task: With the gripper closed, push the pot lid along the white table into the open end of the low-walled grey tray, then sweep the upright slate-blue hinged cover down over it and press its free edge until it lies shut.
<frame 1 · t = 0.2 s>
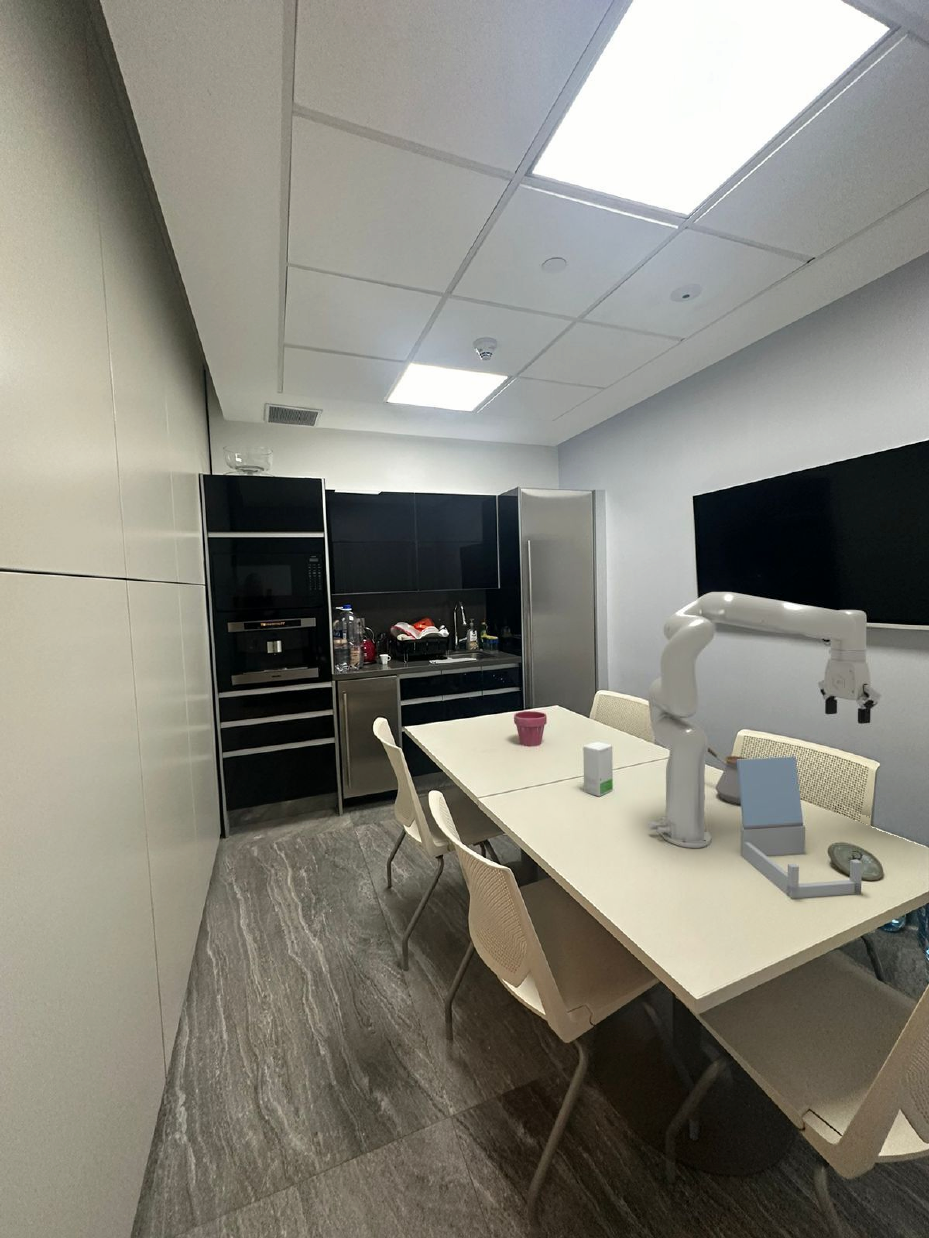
hand: (846, 718, 133), 31 cm above the table, fingers open, 9 cm apart
plant pot: (530, 743, 216), on the table
lid: (854, 870, 116), on the table
low-walled grey tray: (796, 872, 115), on the table
skincare box: (598, 791, 164), on the table
coffee pot: (722, 793, 159), on the table
cover: (769, 792, 123), point 15 cm above the table, hinge at 100.0°
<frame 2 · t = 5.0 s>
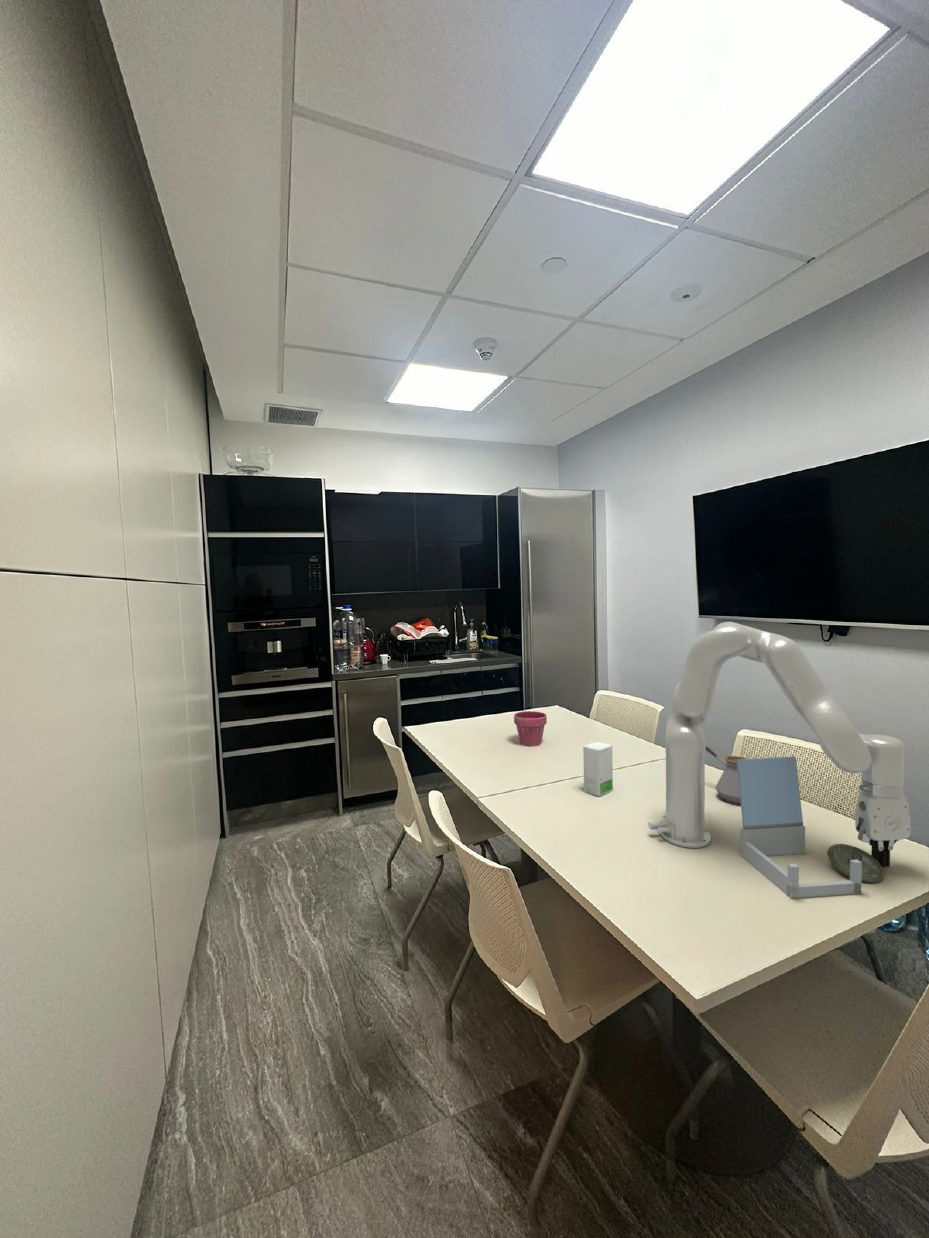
hand: (880, 863, 116), 1 cm above the table, fingers closed
lid: (854, 871, 115), on the table, touching gripper
everything else where it was.
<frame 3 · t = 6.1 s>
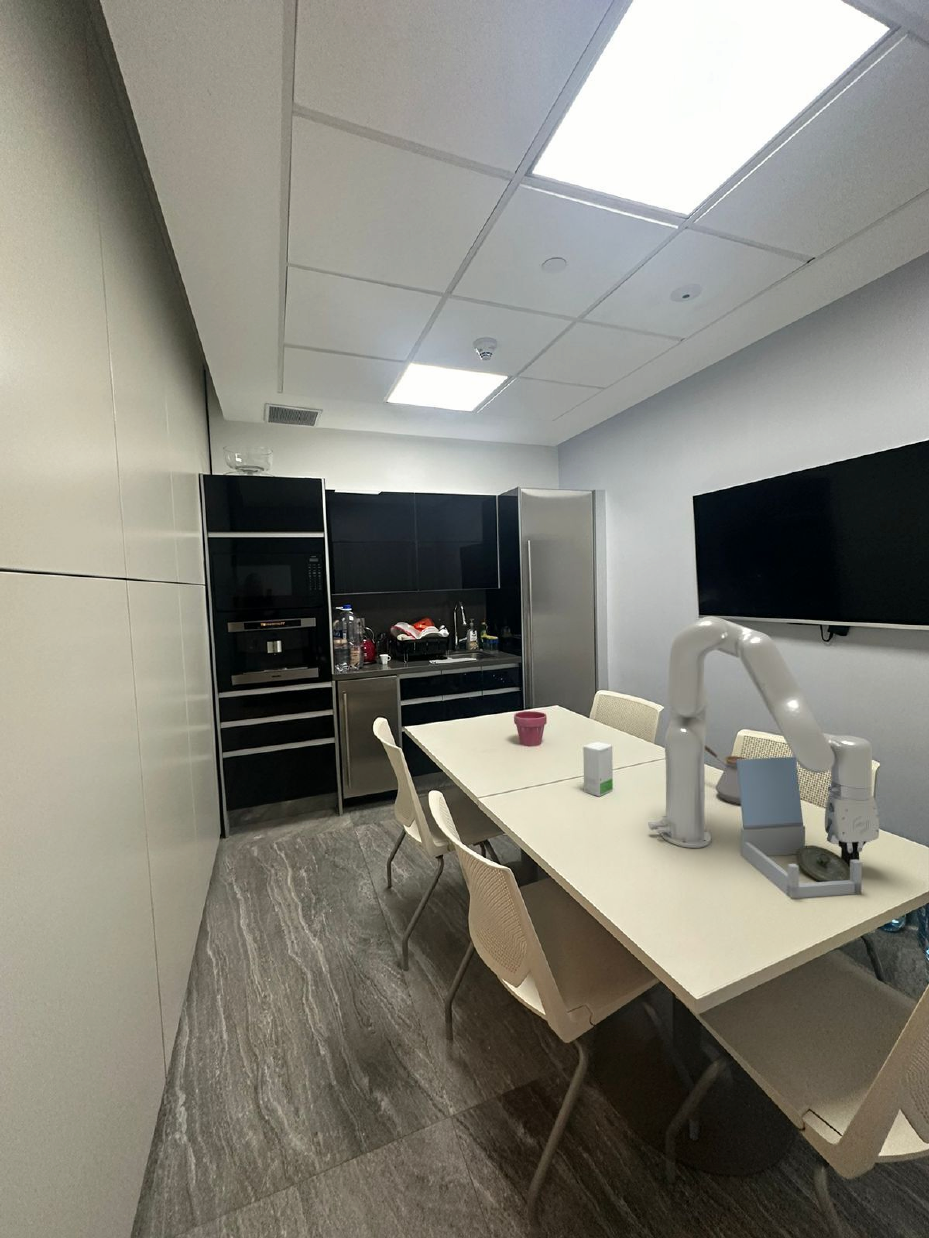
hand: (849, 865, 116), 1 cm above the table, fingers closed
lid: (822, 873, 115), on the table, touching gripper
everything else where it was.
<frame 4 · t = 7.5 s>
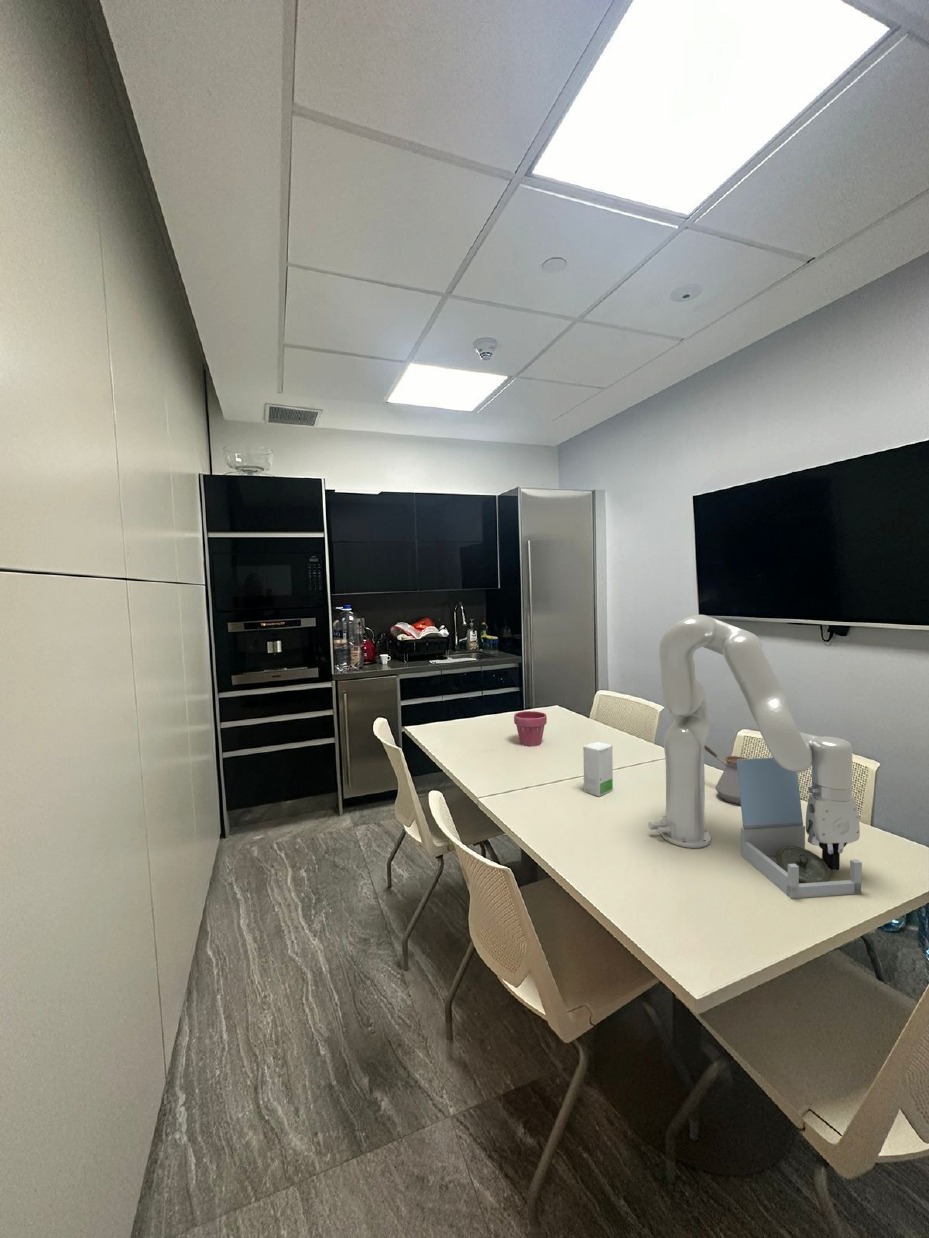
hand: (830, 866, 115), 1 cm above the table, fingers closed
lid: (802, 874, 115), on the table, touching gripper
everything else where it was.
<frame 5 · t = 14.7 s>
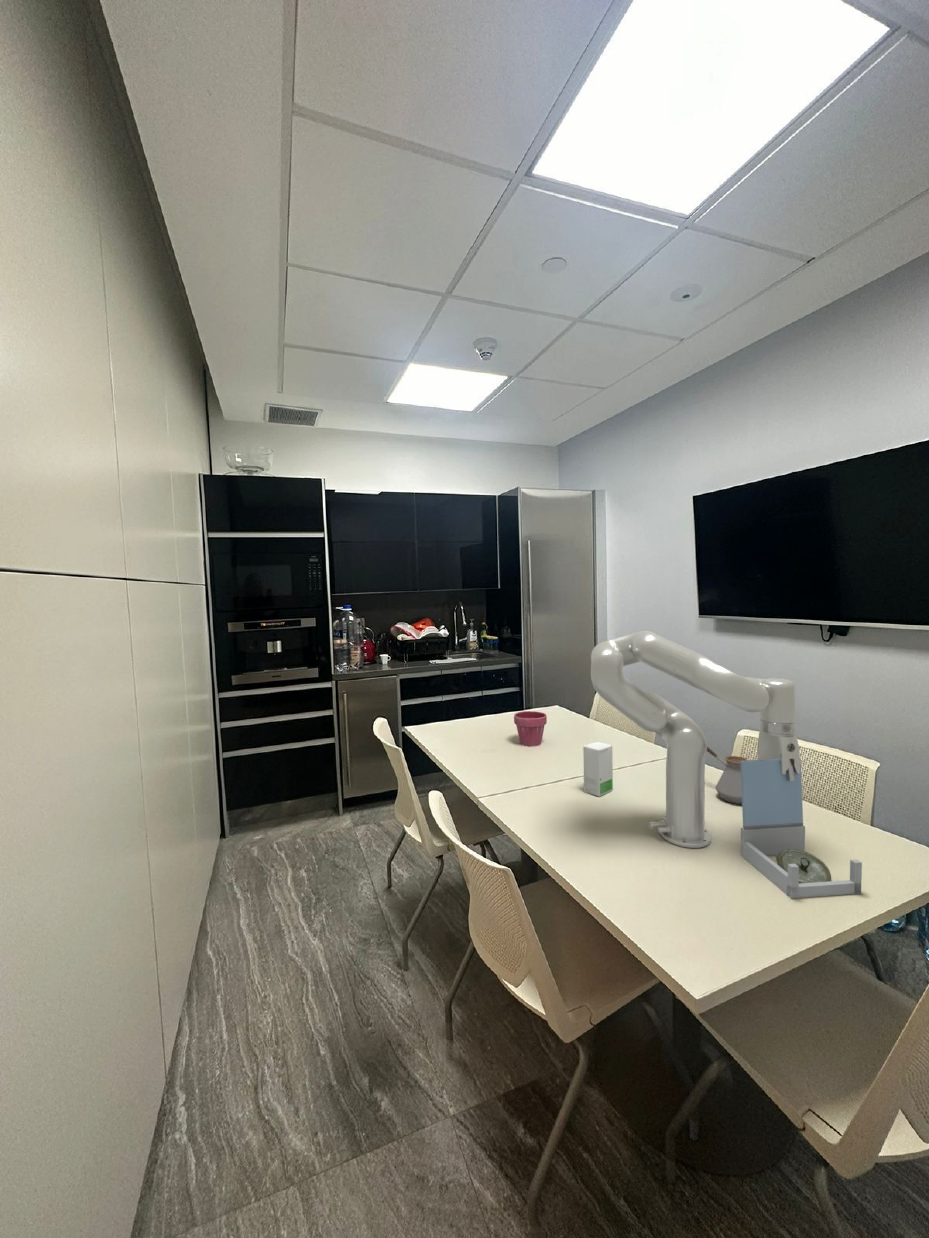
hand: (776, 796, 127), 13 cm above the table, fingers closed
lid: (803, 877, 114), on the table
cover: (771, 793, 123), point 16 cm above the table, hinge at 94.0°, touching gripper
everything else where it was.
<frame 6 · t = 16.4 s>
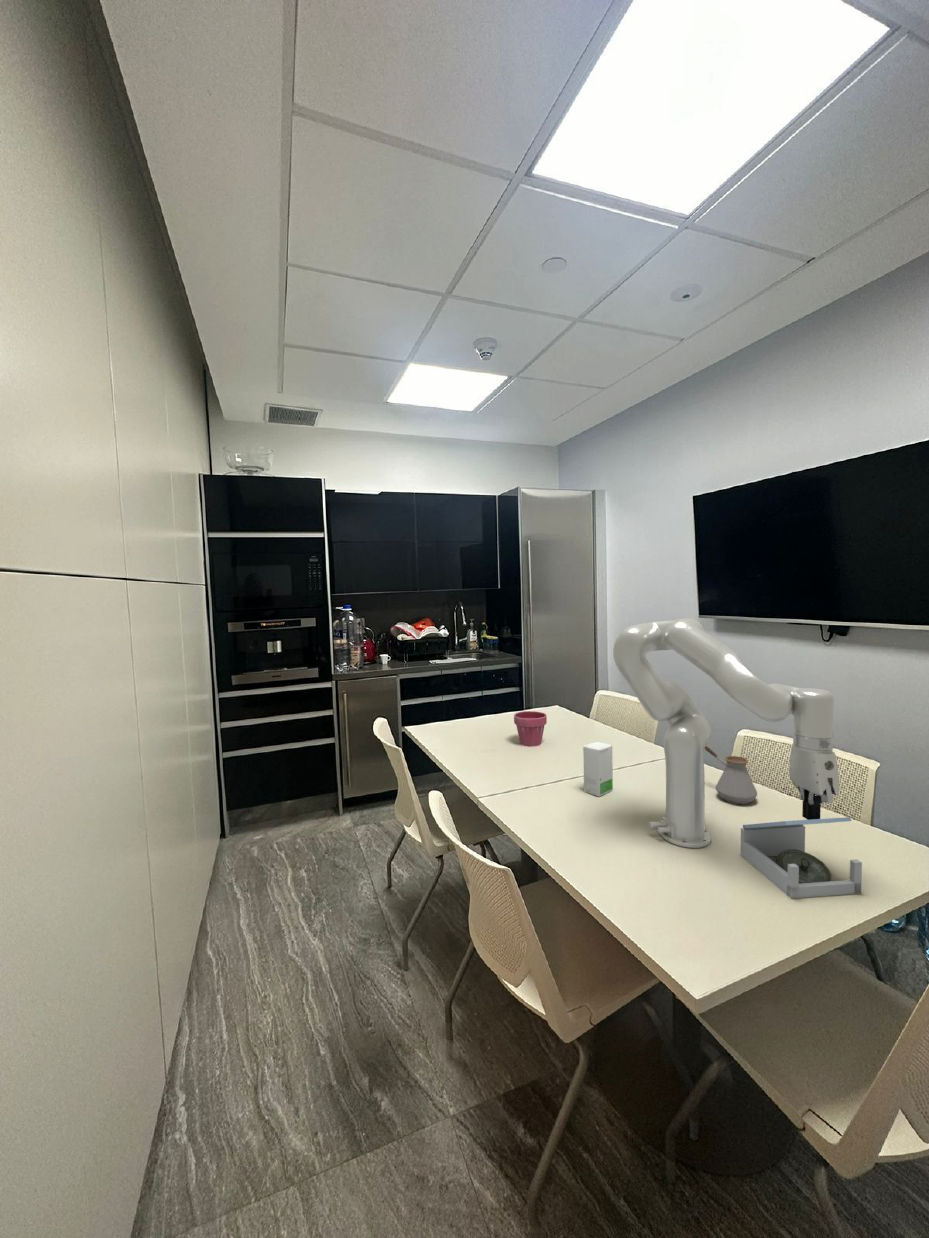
hand: (811, 818, 115), 13 cm above the table, fingers closed
cover: (793, 823, 115), point 11 cm above the table, hinge at 29.0°, touching gripper
everything else where it was.
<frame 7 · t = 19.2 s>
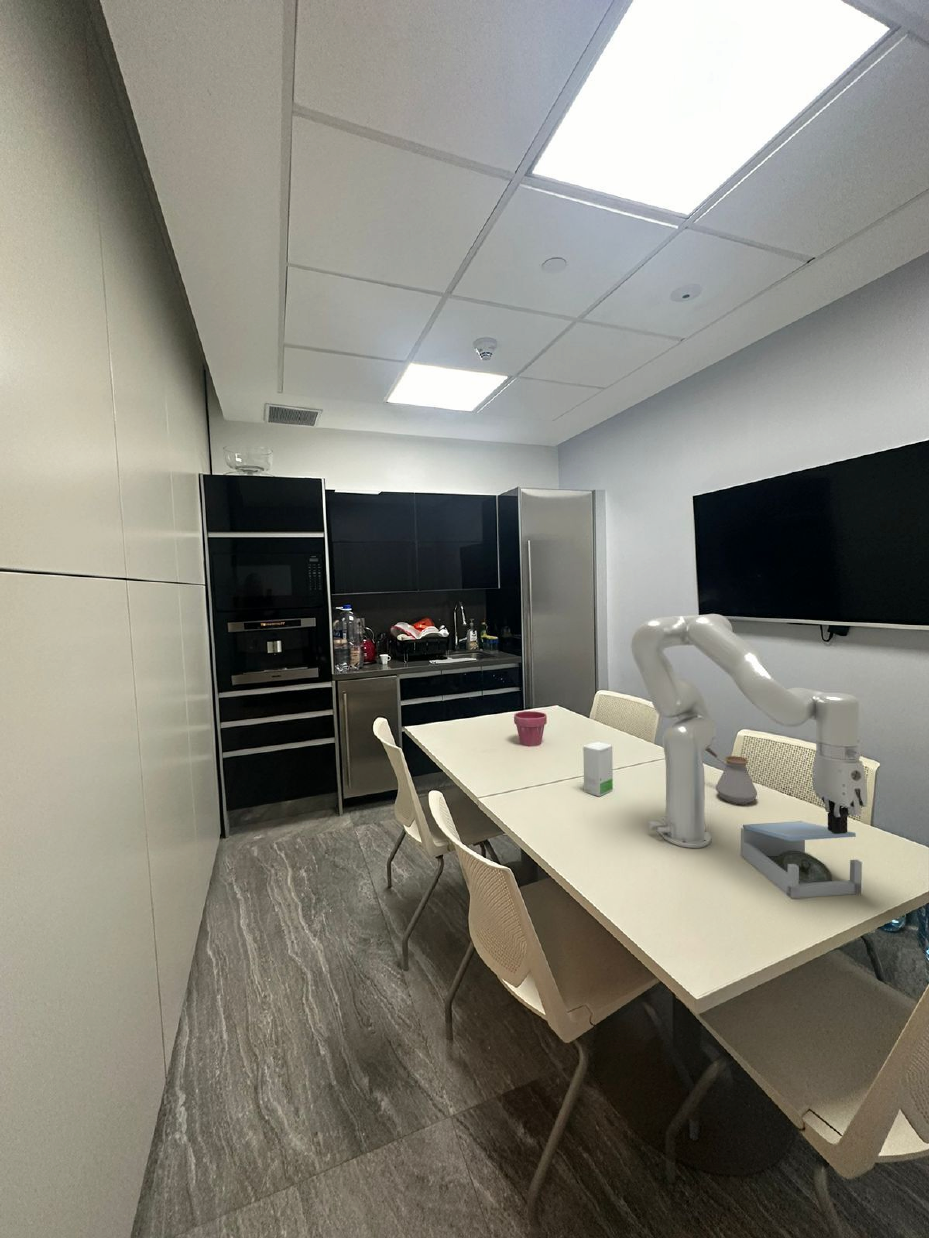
hand: (837, 831, 108), 13 cm above the table, fingers closed
cover: (795, 830, 115), point 10 cm above the table, hinge at 17.7°, touching gripper
everything else where it was.
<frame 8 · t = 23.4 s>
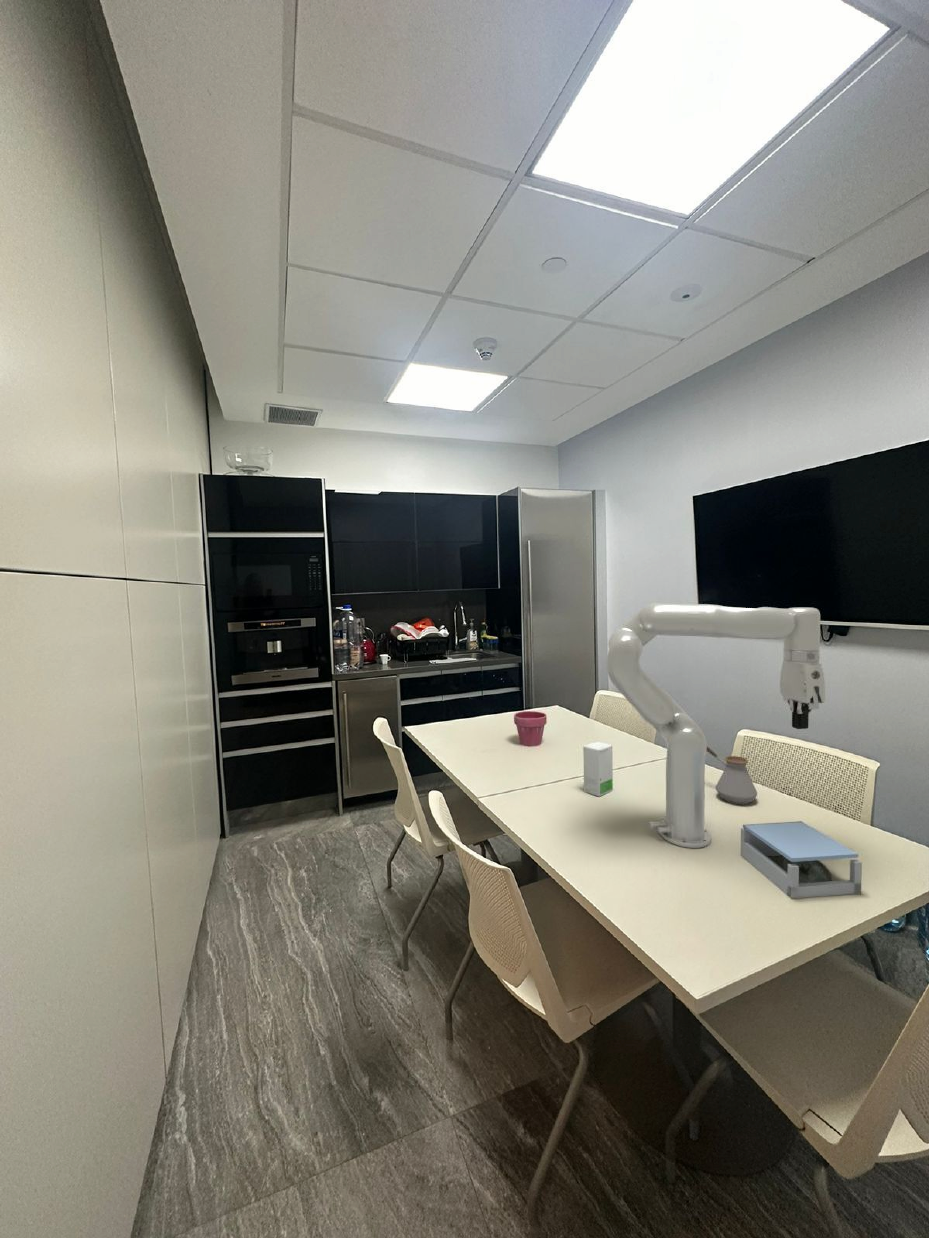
hand: (800, 727, 125), 31 cm above the table, fingers closed
cover: (796, 839, 115), point 8 cm above the table, hinge at 2.3°
at the end: lid inside the target area on the low-walled grey tray (2.6 cm from its centre), point 0.0 cm above the low-walled grey tray's base; cover at +2° (first picture: +100°) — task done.
